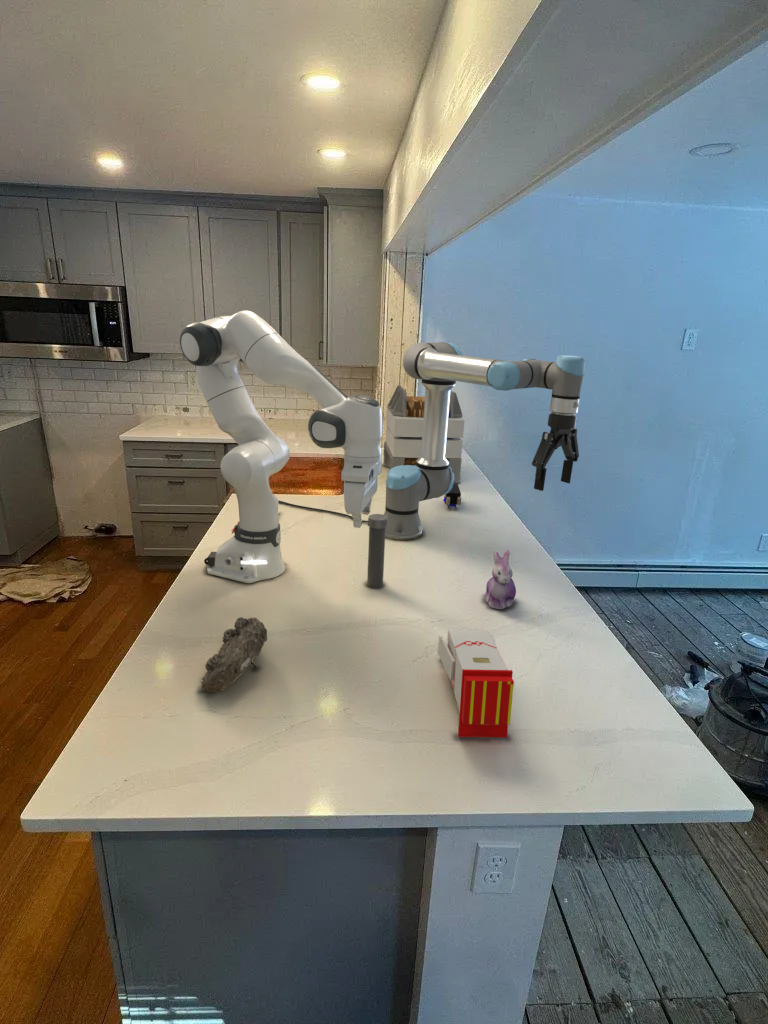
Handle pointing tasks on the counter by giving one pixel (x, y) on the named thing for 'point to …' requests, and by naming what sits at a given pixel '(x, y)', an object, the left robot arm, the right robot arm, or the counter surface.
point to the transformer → (419, 431)
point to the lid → (377, 521)
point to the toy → (478, 682)
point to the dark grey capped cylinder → (376, 557)
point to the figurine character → (453, 497)
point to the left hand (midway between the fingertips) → (362, 520)
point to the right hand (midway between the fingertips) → (552, 485)
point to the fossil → (234, 654)
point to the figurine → (501, 583)
